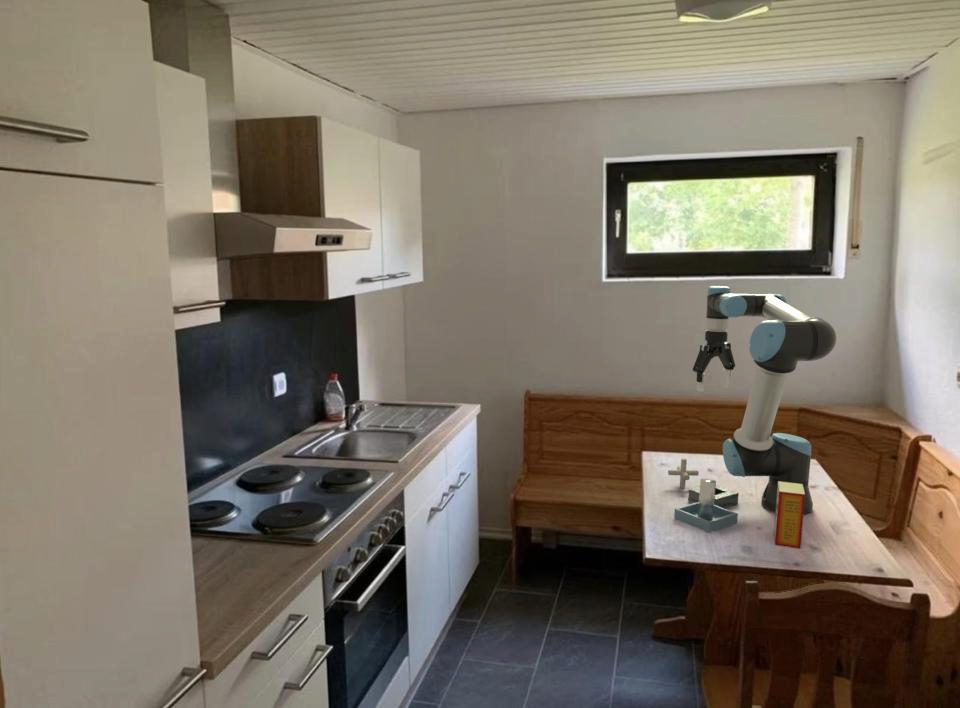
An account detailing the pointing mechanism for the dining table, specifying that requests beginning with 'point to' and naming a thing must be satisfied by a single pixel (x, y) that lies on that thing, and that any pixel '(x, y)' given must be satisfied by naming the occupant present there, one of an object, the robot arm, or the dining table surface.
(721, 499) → the block
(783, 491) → the baking soda box
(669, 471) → the pipe connector
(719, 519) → the parts tray
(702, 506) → the shiny metal cylinder
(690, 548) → the dining table surface
